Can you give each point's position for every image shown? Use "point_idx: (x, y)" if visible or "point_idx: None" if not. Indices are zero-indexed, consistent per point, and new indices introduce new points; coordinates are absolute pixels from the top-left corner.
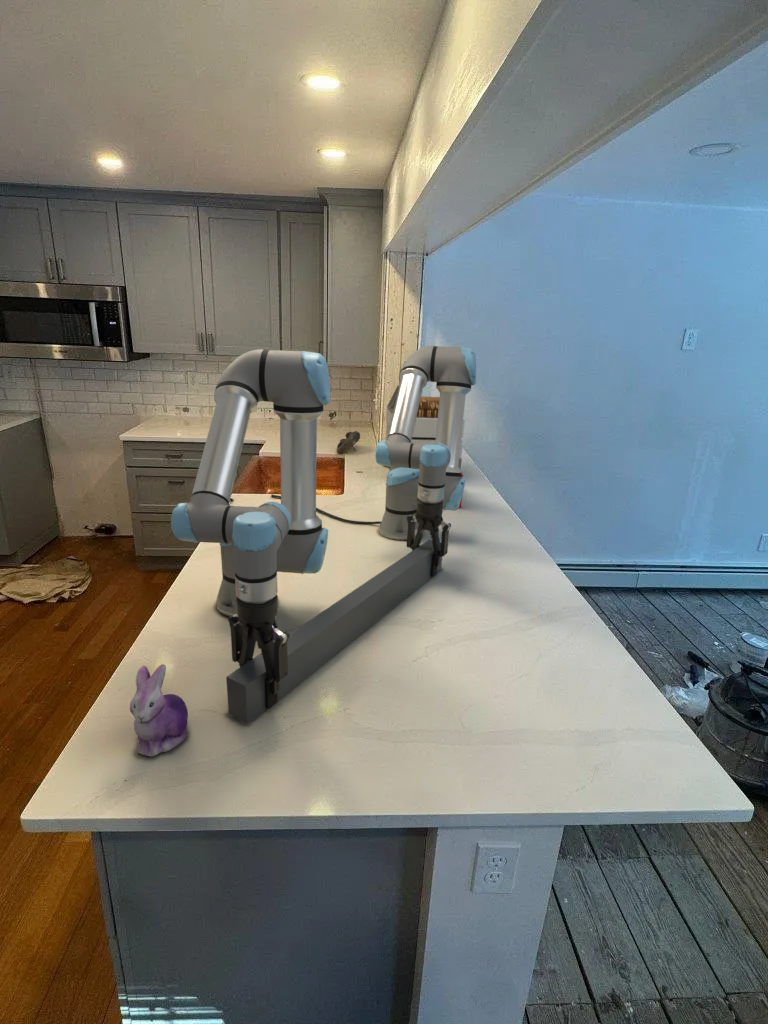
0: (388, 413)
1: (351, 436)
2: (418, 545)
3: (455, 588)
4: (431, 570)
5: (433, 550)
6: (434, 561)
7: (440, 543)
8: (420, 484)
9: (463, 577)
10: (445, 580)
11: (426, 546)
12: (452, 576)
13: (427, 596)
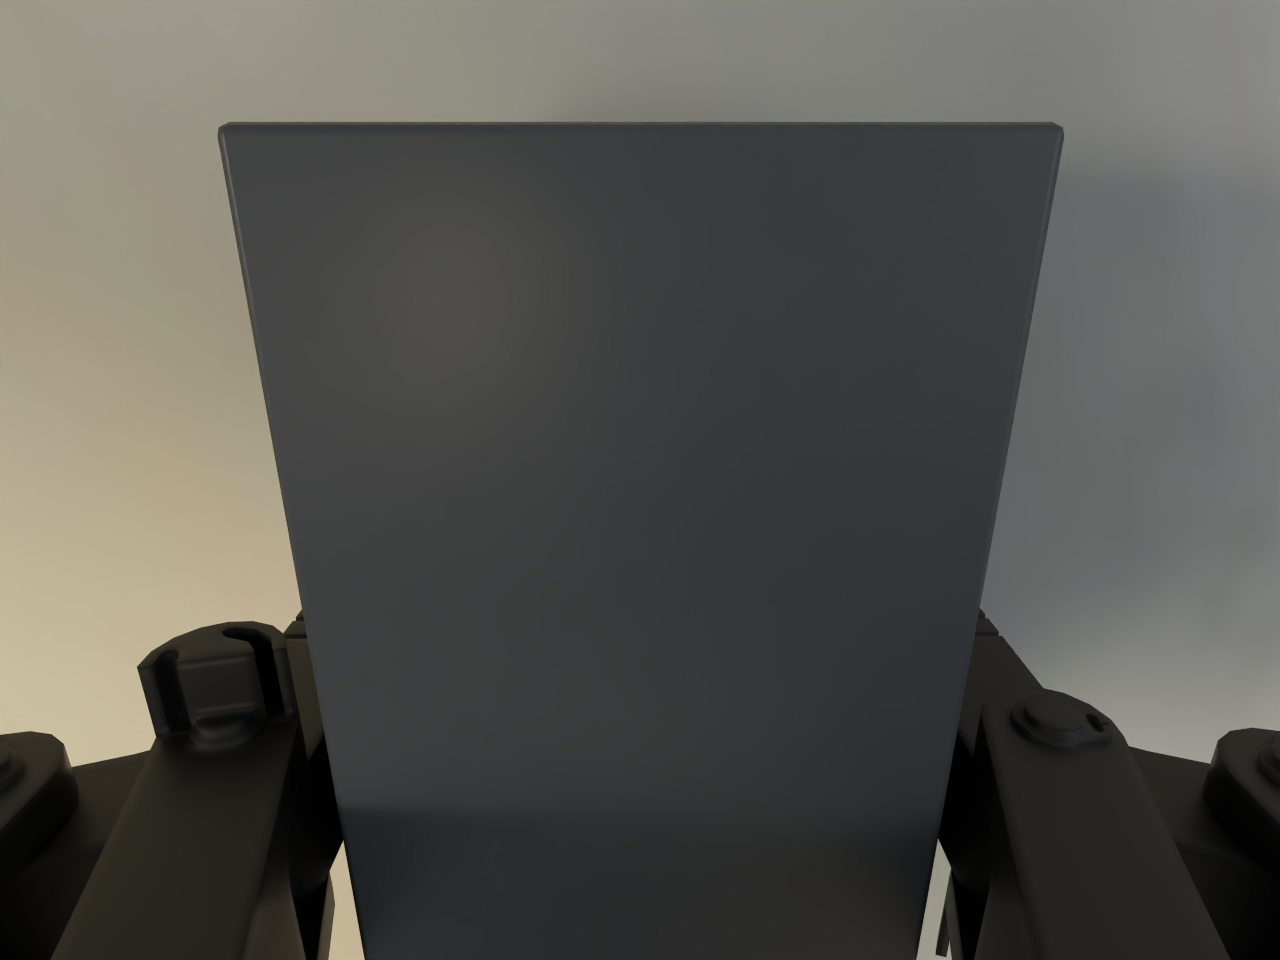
0: None
1: None
2: (270, 818)
3: (1200, 638)
4: None
5: (912, 943)
6: None
7: (935, 242)
8: None
9: (1263, 226)
10: (999, 506)
11: (568, 829)
12: (1067, 309)
13: (926, 956)
